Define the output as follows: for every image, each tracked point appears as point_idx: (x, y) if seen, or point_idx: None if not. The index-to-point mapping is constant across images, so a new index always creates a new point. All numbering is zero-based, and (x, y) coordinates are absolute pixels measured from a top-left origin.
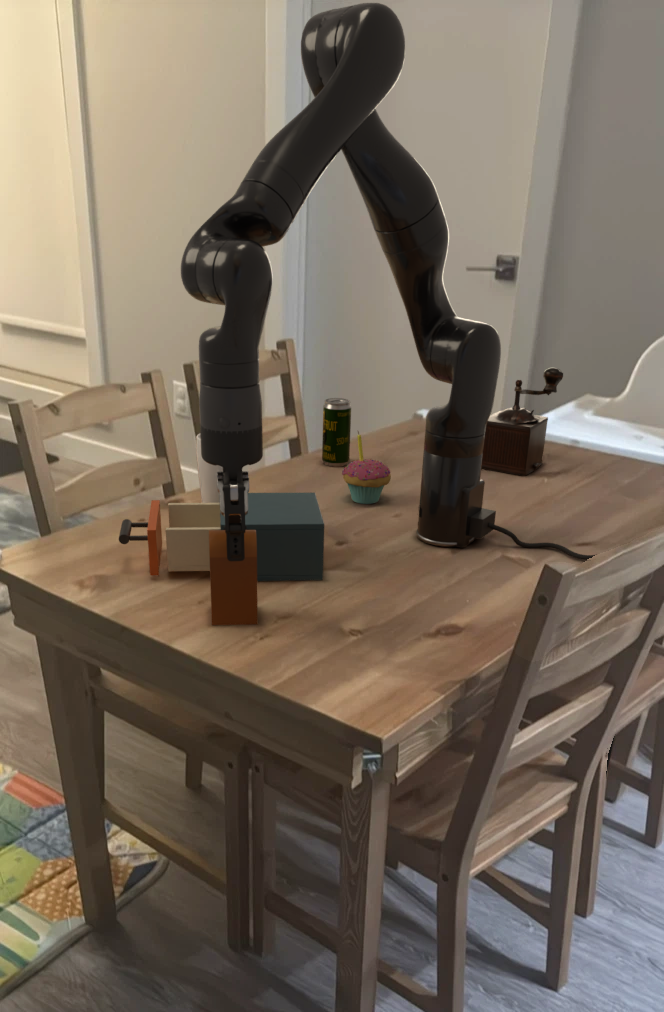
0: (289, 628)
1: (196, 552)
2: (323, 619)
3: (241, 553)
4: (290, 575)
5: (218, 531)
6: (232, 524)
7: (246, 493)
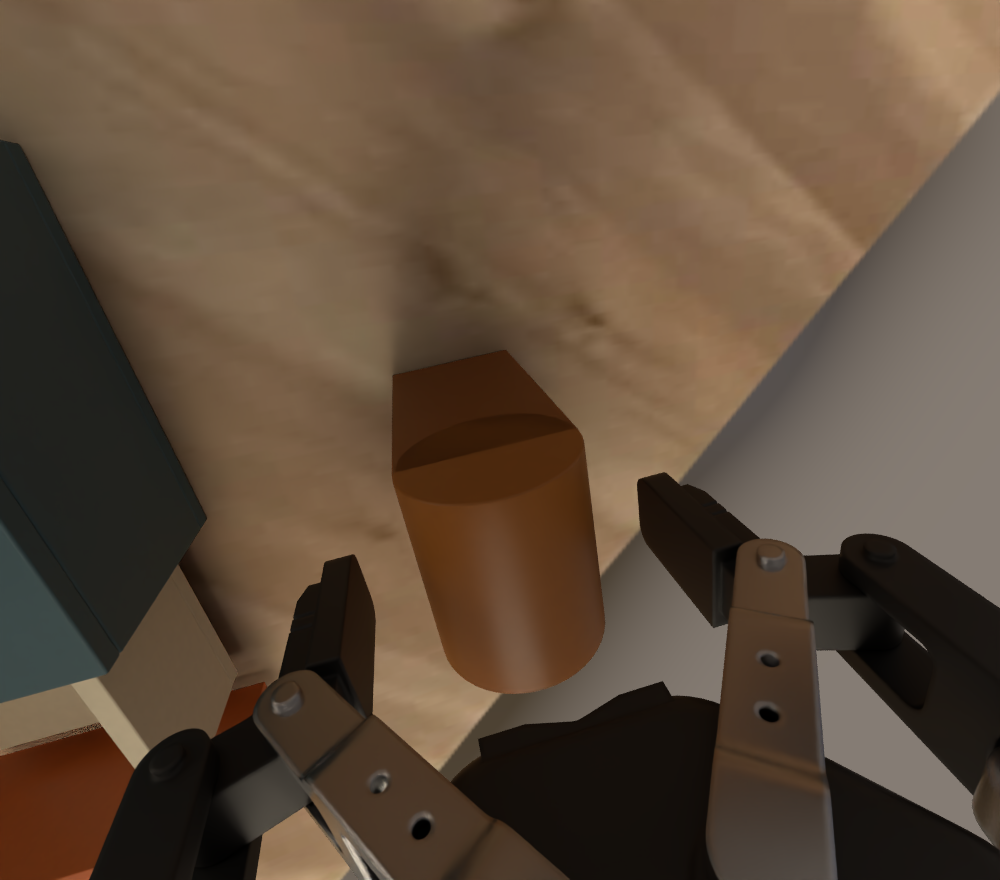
0: (520, 243)
1: (176, 654)
2: (430, 117)
3: (706, 495)
4: (82, 295)
5: (540, 656)
6: (902, 627)
7: (818, 749)
